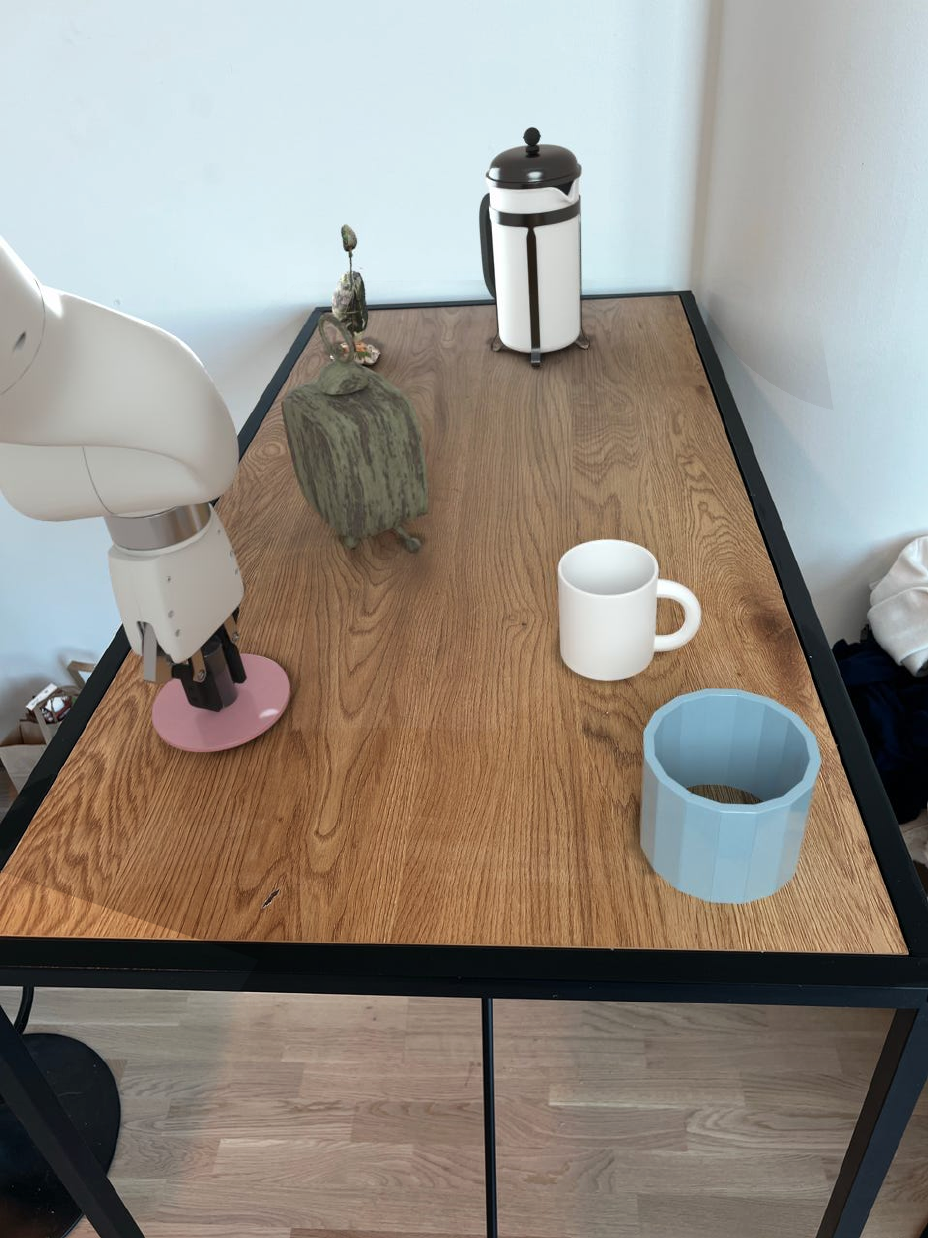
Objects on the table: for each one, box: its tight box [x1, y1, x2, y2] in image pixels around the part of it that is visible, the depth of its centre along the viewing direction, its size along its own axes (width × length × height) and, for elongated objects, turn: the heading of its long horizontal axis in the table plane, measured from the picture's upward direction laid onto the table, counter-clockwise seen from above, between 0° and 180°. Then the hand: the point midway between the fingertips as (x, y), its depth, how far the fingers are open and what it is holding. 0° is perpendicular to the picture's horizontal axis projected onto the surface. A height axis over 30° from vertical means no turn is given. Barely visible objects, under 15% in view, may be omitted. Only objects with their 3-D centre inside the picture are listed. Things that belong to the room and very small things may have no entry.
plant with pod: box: [329, 223, 381, 366], centre depth 138 cm, size 8×11×20 cm
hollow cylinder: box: [639, 687, 822, 905], centre depth 64 cm, size 11×11×10 cm
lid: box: [151, 635, 291, 753], centre depth 80 cm, size 12×12×7 cm
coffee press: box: [478, 126, 591, 367], centre depth 132 cm, size 17×16×30 cm
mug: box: [557, 538, 702, 682], centre depth 80 cm, size 12×8×10 cm
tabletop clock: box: [280, 313, 430, 554], centre depth 95 cm, size 14×9×25 cm, turn 33°
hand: (218, 691), depth 81 cm, fingers closed on lid, 3 cm apart
